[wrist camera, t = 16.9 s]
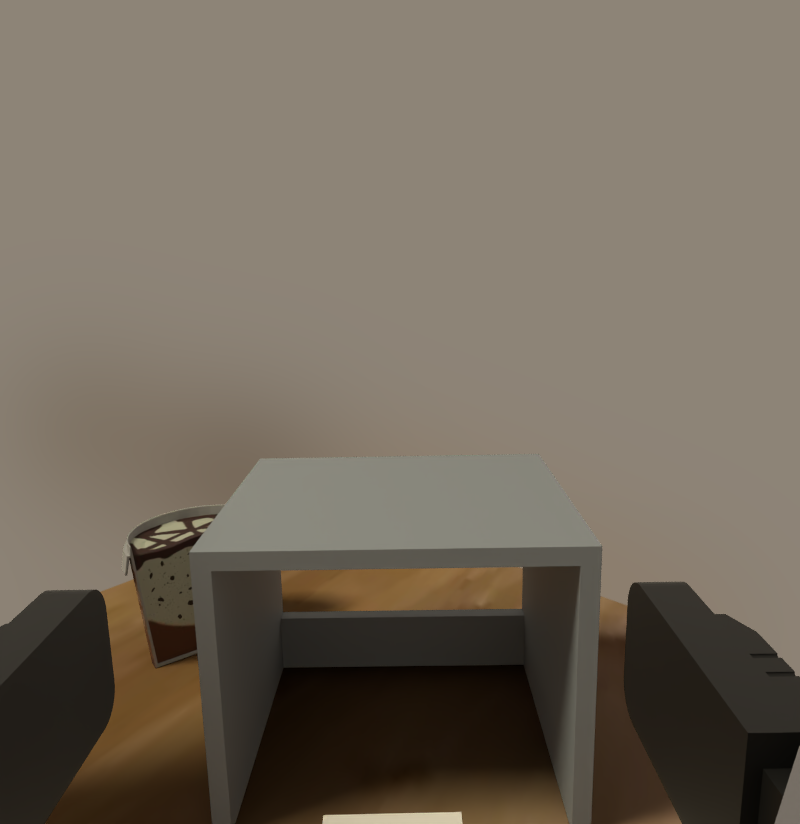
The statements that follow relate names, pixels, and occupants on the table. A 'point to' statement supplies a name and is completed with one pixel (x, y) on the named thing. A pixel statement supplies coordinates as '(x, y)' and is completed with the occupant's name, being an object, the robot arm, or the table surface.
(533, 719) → the table surface
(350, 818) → the cream block
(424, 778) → the table surface
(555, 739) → the open box frame
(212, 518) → the food container
